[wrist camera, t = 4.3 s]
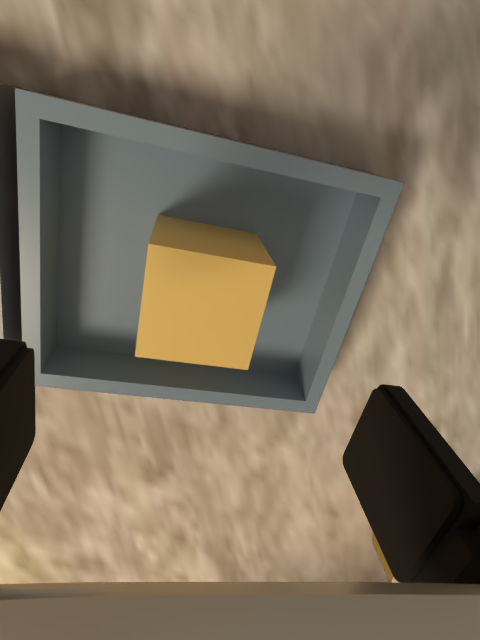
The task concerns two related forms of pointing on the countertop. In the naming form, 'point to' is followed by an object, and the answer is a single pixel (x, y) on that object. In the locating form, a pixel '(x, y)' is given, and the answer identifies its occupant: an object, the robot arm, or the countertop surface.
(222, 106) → the countertop surface
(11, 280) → the charcoal tray
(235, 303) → the ochre block
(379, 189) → the slate-blue tray
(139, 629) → the robot arm
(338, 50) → the countertop surface
